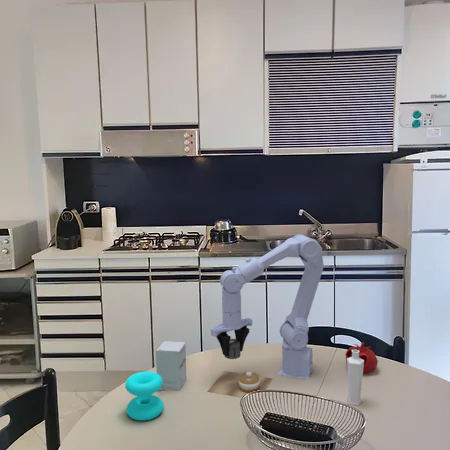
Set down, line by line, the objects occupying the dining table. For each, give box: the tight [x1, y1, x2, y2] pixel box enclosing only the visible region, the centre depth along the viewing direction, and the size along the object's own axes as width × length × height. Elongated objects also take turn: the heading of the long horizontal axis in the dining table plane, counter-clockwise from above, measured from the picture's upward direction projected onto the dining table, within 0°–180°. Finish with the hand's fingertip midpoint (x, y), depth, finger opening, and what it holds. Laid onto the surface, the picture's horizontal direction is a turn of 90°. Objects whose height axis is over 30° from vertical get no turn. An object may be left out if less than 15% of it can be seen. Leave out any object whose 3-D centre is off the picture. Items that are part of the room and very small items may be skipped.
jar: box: [239, 371, 260, 393], centre depth 138 cm, size 6×6×5 cm
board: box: [207, 370, 273, 399], centre depth 140 cm, size 16×14×1 cm
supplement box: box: [155, 340, 187, 391], centre depth 141 cm, size 7×7×13 cm
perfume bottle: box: [346, 349, 364, 406], centre depth 130 cm, size 5×4×15 cm
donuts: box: [124, 371, 164, 421], centre depth 127 cm, size 10×10×10 cm
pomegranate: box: [344, 341, 379, 375], centre depth 149 cm, size 10×10×9 cm
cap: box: [223, 338, 242, 360], centre depth 143 cm, size 5×5×5 cm
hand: (232, 352), depth 143 cm, fingers closed on cap, 5 cm apart
